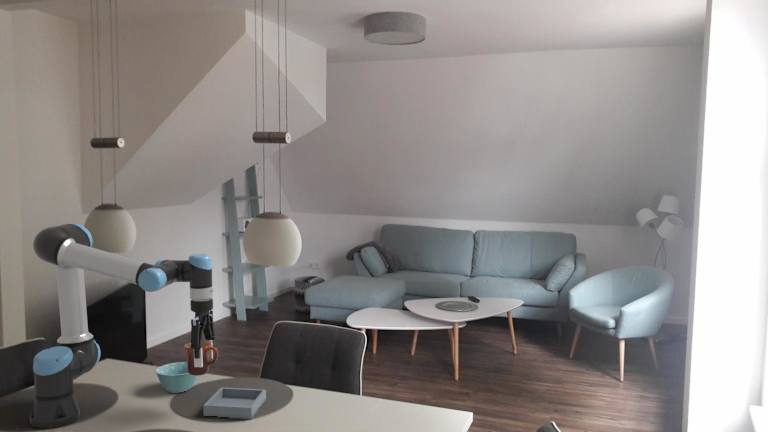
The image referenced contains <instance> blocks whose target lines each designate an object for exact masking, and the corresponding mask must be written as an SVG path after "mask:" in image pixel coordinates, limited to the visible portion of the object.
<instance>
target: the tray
mask: <svg viewBox="0 0 768 432" xmlns="http://www.w3.org/2000/svg"><path fill="white" fill-rule="evenodd" d="M266 401H267V389H259V388H239V387H238V388H237V387H220V388H219V389H218V390H217V391H216V392H215V393H214V394H213V395H212V396H211V397H210V398H209V399H208V400H207V401H206V402H205V403H204V404H203V406H202V407H203V417H204V416H218V417H217V418H220V417H229V418H228V419H238V418H239V419H241V420H252V419H253V418H254V417H255V416H256V414H258V412H259V410H260V409H261V408H262V407H263V405H264V404H265V402H266ZM239 419H238V420H239Z"/></svg>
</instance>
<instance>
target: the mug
mask: <svg viewBox="0 0 768 432" xmlns="http://www.w3.org/2000/svg"><path fill="white" fill-rule="evenodd" d="M190 346H191V341H189V342H187V343H185V344H184V345H183V347H184V349H185V353H186V362H187V371H188V373H189V374H190V375H193V376H196V377H198V376H203V375H206V374H207V373H208V372H209V371H210V370H209V369H210V366H212V365H213V364H215V363H216V362H217V361H218V358H219V350H218V348H217V347H215V346H212V347H210V342H207V341H205V340H202V342H201V348H202V359H203V367H194V349H191V348H190ZM209 350H213V351H214V357H213V359H212V360H210V359H209Z"/></svg>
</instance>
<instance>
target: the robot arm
mask: <svg viewBox="0 0 768 432" xmlns="http://www.w3.org/2000/svg"><path fill="white" fill-rule="evenodd" d="M93 241H94V240H93V236H92V234H91V232H90V231H89V230H88V228H86V227H85V226H84V225H82V224H78V223H64V224H60V225H56V226H51V227H50V226H49V227H46V228H44V229H42V230H40V231H39V232H38V233H37V234H36V236H35V237H34V239H33V243H32V248H33V251H34V253H35V255H36V256H37V257H38V258H39V259H40V260H42V261H43V262H46V263H49V264H50V265H51V266H53V267H54V268H55V271H56V280H57V281H56V282H57V292H58V293H57V294H58V306H59V307H58V308H59V319H60V332H61V333H60V334H61V335H60V337H58V338H57V340H56V343H57V345H56V346H53V347H52V346H51V347H50V348H45V349H42V350H41V351H40V352H38V353H36V355H35V356H34V358H33V366H32V370H33V371H32V372H33V383H34V385H33V386H34V387H33V388H34V403H33V405H32V408H31V411H30V413H29V414H30V415H29V424H31V425H32V427H33V428H36V429H37V428H38V429H51V428H58V427H64V426H67V425H69V424H72V423H74V422H75V421H77V420H79V418H81V408H80V406H79V404H78V401H77V399H76V396H75V391H74V380H76V379H78V378H79V377H81V376H83V375H84V374H87V373H89V372H90V371H92V369H94V367H96V365H98V363H99V362H100V359H101V348H100V345H99V344H98V343H97V342H96V340H95V339H94V335H93V334H92V333H91V332H89V327H88V323H89V322H88V313H87V312H88V310H87V300H86V299H87V298H86V283H85V273H84V271H87V272H92V273H95V274H99V275H102V276H105V277H106V276H107V277H109V278H113V279H117V280H120V281H122V282H123V281H124V282H127V283H131V284H134V285H136V286H137V285H138V286H139V287H140V288H141V289H142V290H143V291H144V292H148V293H152V292H159V291H160V290H162V289H164V288H165V287H168V286H169V285H172V284H174V283H189V298H190V301H189V303H190V311H191V312H193V313H194V318H193V319H191V320H190V325H191V326H190V327H191V328H190V342H191V346H190V348H191V349H194V367H203V359H202V348H201V342H202V341H203V336H204V338H205V339H204V341H207V342H210V347H213V341H214V340H216V333H215V326H214V325H215V324H214V323H215V322H214V316H213V315H214V311H213V309H214V300H213V297H214V296H213V294H214V292H215V290H214V289H213V266H212V265H213V263H212V257H211V255H210V254H207V253H196V254H191V255H189V257H188V259H187V260H183V259H182V260H179V259H163V260H162V259H161V260H160V259H159V260H157V261H156V262H155V264H151V263H146V261H145V262H144V261H140V260H138V259H133V258H130V257H126V256H122V255H119V254H117V253H116V254H115V253H113V252H109V251H106V250H101V249H99V248H95V247H93ZM213 351H214V350H209V360H214V357H213V356H214V354H213V353H214V352H213ZM31 425H30V426H31Z"/></svg>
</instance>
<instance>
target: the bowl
mask: <svg viewBox="0 0 768 432" xmlns="http://www.w3.org/2000/svg"><path fill="white" fill-rule="evenodd" d="M155 374H156V376H157V378H158V380H159V383H160V385H161V387H162V389H163V390H164V391H166V392H167V393H171V394H180V392H181V393H184V391H185V392H188V391H189V390H191V388H193V387H194V384H195V382H196V379H197V376H193V375H190V374H189V373H188V371H187V361H181V362H179V361H177V362H173V363H172V362H171V363H167V364H162V365H161V366H159V367H158V368H156V369H155Z"/></svg>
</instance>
